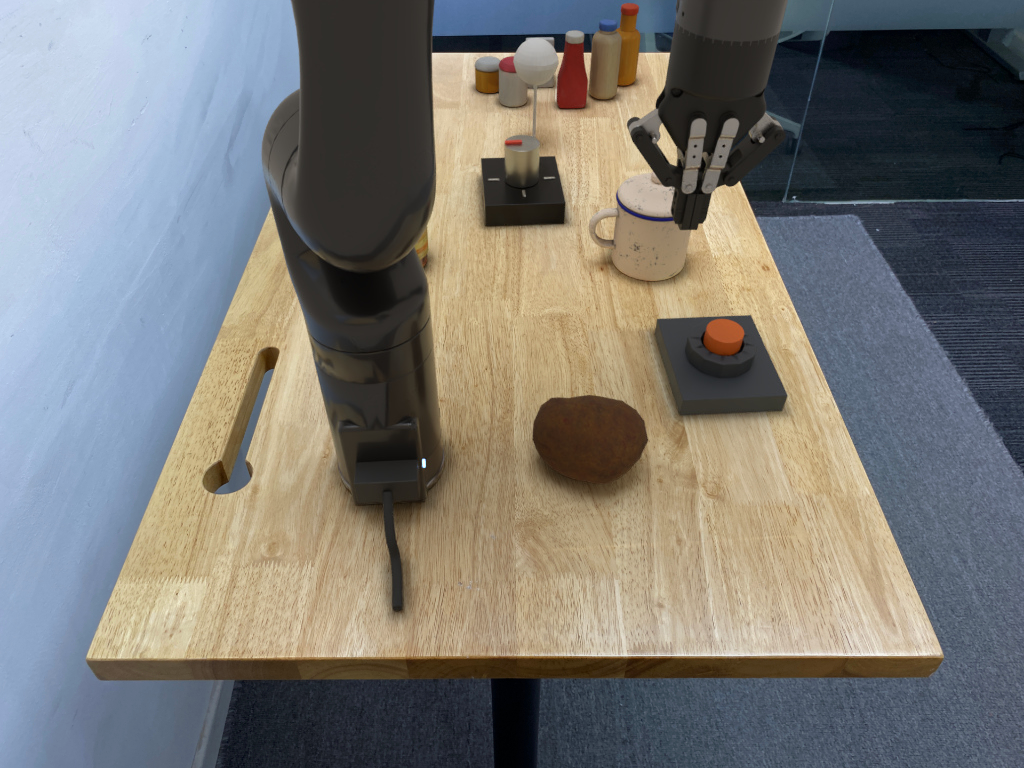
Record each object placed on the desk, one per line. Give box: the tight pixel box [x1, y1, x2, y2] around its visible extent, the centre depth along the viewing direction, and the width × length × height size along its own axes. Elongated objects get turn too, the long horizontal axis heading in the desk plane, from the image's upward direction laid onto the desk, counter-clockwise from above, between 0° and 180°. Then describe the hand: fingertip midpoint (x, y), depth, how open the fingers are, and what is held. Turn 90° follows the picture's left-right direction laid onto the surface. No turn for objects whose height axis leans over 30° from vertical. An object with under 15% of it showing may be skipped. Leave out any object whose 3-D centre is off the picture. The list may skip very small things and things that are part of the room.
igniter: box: [654, 314, 788, 417], centre depth 77 cm, size 12×10×4 cm
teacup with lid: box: [588, 171, 692, 282], centre depth 87 cm, size 12×9×12 cm
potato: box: [531, 394, 649, 485], centre depth 66 cm, size 7×10×8 cm
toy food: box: [473, 2, 641, 109], centre depth 121 cm, size 27×13×12 cm, turn 93°
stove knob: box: [503, 134, 541, 188], centre depth 97 cm, size 4×4×5 cm
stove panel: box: [480, 155, 566, 227], centre depth 100 cm, size 12×10×3 cm
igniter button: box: [703, 319, 744, 356], centre depth 75 cm, size 4×4×2 cm
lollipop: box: [513, 37, 560, 138], centre depth 107 cm, size 6×6×15 cm
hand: (686, 225), depth 68 cm, fingers closed
